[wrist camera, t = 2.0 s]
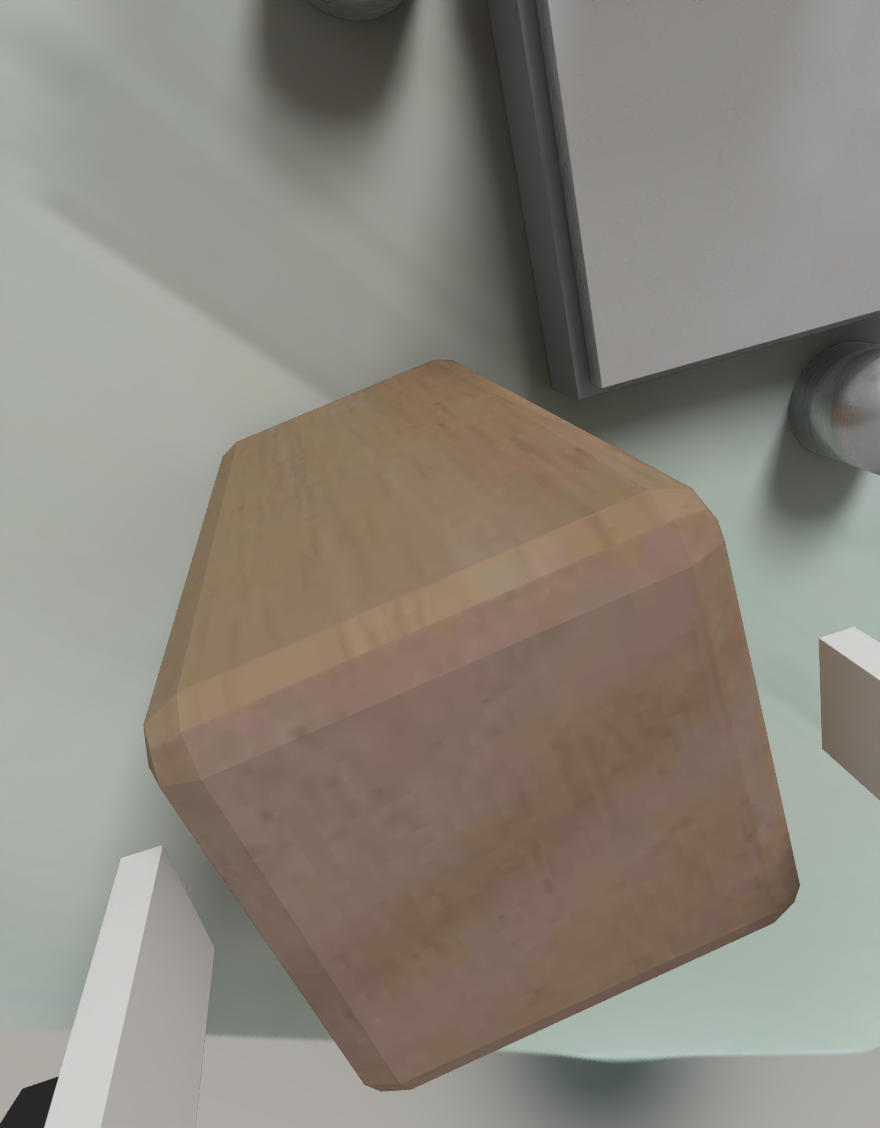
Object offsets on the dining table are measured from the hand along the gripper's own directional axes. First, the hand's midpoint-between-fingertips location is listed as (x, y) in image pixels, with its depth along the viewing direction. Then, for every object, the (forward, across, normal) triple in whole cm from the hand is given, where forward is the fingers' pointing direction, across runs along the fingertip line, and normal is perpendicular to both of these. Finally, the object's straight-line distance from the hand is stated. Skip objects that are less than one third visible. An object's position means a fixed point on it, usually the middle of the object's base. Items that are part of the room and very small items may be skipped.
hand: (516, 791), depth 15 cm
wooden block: (+18, 0, 0) cm, 18 cm away
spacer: (+18, +20, -1) cm, 28 cm away
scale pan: (+18, +16, +11) cm, 26 cm away
